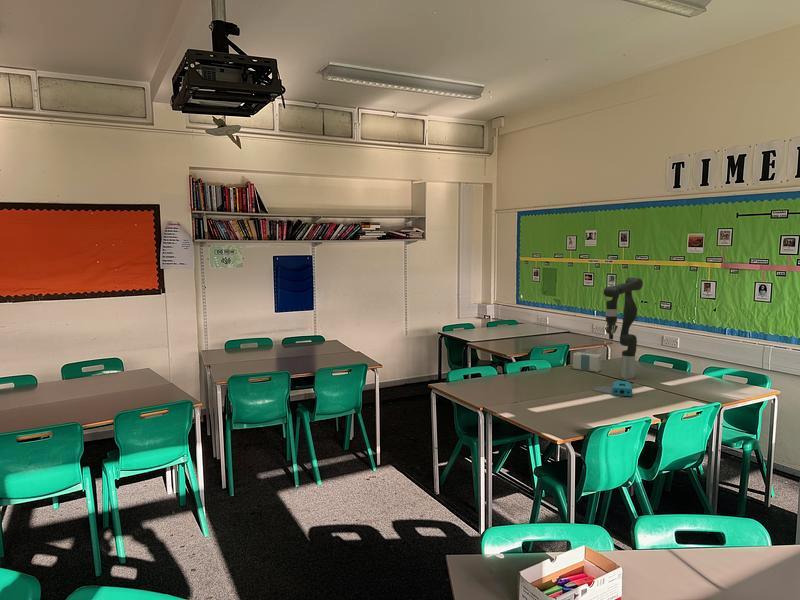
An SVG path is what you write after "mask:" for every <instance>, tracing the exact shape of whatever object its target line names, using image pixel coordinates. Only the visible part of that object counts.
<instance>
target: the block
mask: <svg viewBox="0 0 800 600" xmlns="http://www.w3.org/2000/svg"><path fill="white" fill-rule="evenodd" d="M612 387H613V389H612V394H613V395H612V396H614V395H616V396H621V397H632V396H633V385H632V384H631V383H630V382H629V381H628V380H627V381H626V380H625V381H624V380H616V381H614V382H613V383H612Z"/></svg>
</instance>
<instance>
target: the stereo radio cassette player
mask: <svg viewBox="0 0 800 600" xmlns="http://www.w3.org/2000/svg"><path fill="white" fill-rule="evenodd" d="M598 347H599V348H600V346H598ZM595 349H596V347H594V348H591V349H589V350H587V351H584V352H579V351H578V352H576V351H575V352H574V353H572V368H573V369H574V370H580V371H588V372H596V373H599V372H600V371H601V370H602V369H601V368H602V354H597V353H589V351H593V350H595ZM587 352H588V353H587Z"/></svg>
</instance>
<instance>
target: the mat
mask: <svg viewBox="0 0 800 600" xmlns="http://www.w3.org/2000/svg"><path fill="white" fill-rule="evenodd" d="M612 389H613V386H607V385H603V386H599V387H596V388H592V389H591V391H594V392H598V393H602V394H606V395H611V396H617V395H613V394H612Z"/></svg>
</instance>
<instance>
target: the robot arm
mask: <svg viewBox="0 0 800 600" xmlns="http://www.w3.org/2000/svg"><path fill="white" fill-rule="evenodd" d="M643 284H644V281H643V280H642V279H641V278H640V277H627V278H626V279H625V282H624V283H620V284H617V285H612V286H606V287H605V288H604V290H603V294H604V296H605V297H606V298H612V299H611V300H610V299H609V300H606V303H605V308H606V309H605V322H606V326H604V330H605V332H606V333H607V334H608V339H609V340H613V339H614V334H615V333H616V332H617V329H618V325H617V324H616V323H617V322H618V309H617V308H618V300H619V297H620V295H622V294H624V306H623V312H622V313H623V314H622V324H621V329H620V335H619V344H620V345H621V346H623V347H625V346H626V347H627V349H626V350H623V351H622V352H621V379H625V380H635V379H636V353H637V347H638V345H637V344H638V340H637V338H638V337H637V336H636V335H635V334H631V333H629V331H630V327H632V325H633V323H634V322H635V321H636V319H637V316H638V315H637V314H638V307H637V304H636V303H635V301H634V299H633V291H639V290H642V288H643V286H644V285H643Z"/></svg>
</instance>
